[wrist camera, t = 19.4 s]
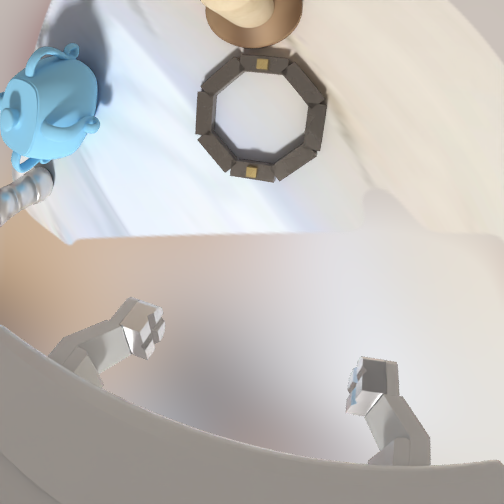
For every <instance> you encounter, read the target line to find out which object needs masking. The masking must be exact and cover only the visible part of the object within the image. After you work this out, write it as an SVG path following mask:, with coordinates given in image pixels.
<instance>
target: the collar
mask: <svg viewBox="0 0 504 504" xmlns="http://www.w3.org/2000/svg"><path fill="white" fill-rule="evenodd" d="M289 62H290V60H289V59H287V58H278V57H267V56H254V55H240V60H239V59H238V58H236V57H233V58H232V59H231V60H230V61H229V62H227V63H226V64H225V65H224V66H223V67H222V68H220V69H219V70H218V71H217V72H216V73H215V74H213V75H212V76H211V77H210V78H209V79H208V80H207V81H206V82H205V83H203V84H202V85H201V88H202V89H203V90H204V91H205V92H204V91H201V92H198V96H197V112H196V132H195V134H199V135H202V136H201V137H200V138H199V139H198V141H199V142H200V144H201V145H202V146H203V147H204V148H205V149H206V151H207V152H208V153H209V154H210V155H211V157H212V158H213V159H214V160H215V161H216V163H217V164H218V165H219V166H220V167H221V169H222V170H223V171H224V172H226V171H228V170H229V169H230V168H231V171H230V176H236V177H242V178H249V179H255V180H261V181H267V182H273V183H274V181H275V177H277V179H278V180H279V181H281V180H282V179H284V178H285V177H287V176H288V175H290V174H291V173H293V172H294V171H296V170H297V169H299V168H300V167H301V166H303V165H304V164H306V163H307V162H309V161H310V160H312V159H313V158H315V157H316V156H317V154H316V153H315V151H314V150H316V151H320V148H321V142H322V136H323V129H324V123H325V116H326V109H327V105H323V104H319V103H320V102H322V101H323V100H325V98H324V97H323V96H322V94H321V93H320V92H319V90H318V89H317V88H316V87H315V85H314V84H313V83H312V82H311V80H310V79H309V78H308V77H307V76H306V74H305V73H304V72H303V71H302V70H301V69H300V67H299V66H298V65H297V64H296V63H295V62H294V63H292V64H291V65H289ZM244 72H257V73H268V74H277V75H283V76H284V77H285V78H286V79H287V80H288V81H289V83H290V84H291V85H292V86H293V87H294V89H295V90H296V91H297V92H298V93H299V95H300V96H301V97H302V98H303V100H304V101H305V102H306V103H307V105H308V114H307V121H306V128H305V135H304V142H303V144H301V145H300V146H298V147H297V148H296V149H294V150H293V151H291V152H290V153H288V154H287V155H285V156H284V157H283V158H281V159H280V160H278V161H277V162H276V163H274V164H272V163H265V162H259V161H252V160H245V159H238V158H237V157H236V156H235V155H234V154H233V153H232V151H231V150H230V149H229V148H228V146H227V145H226V144H225V143H224V142H223V141H222V139H221V138H220V137H219V136H218V135H217V133H216V132H215V131H214V128H215V113H216V99H217V95H218V94H219V93H220V92H221V91H222V90H224V89H225V88H226V87H227V86H228V85H229V84H231V83H232V82H233V81H234V80H235V79H237V78H238V77H239V76H240V75H242V74H243V73H244Z"/></svg>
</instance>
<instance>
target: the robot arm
mask: <svg viewBox="0 0 504 504" xmlns="http://www.w3.org/2000/svg"><path fill="white" fill-rule="evenodd" d="M162 315H163V310H162V308H161V307H158V306H155V305H152V304H150V303H147V302H144V301H142V300H138V299H136V298H133V297H130V298H128V299H127V300H126V301H125V302H124V303H123V305H122V306H121V307H120V308H119V309H118V311H117V312H116V313H115V314H114V315H113V317H112V318H111V319H110V320H109V321H108V320H105V321H102V322H100V323H98V324H95V325H93V326H90V327H88V328H86V329H83V330H81V331H78V332H76V333H73V334H71V335H68V336H66V337H64V338H63V339H62V340H61V341H60V342H59V344H58V345H57V346H56V347H55V348H54V349H53V351H52V352H51V353H50V354H49V355H48V357H47V356H46V355H44V354H43V353H41V352H39V351H38V350H37V349H35V348H34V347H32V346H31V345H29V344H28V343H26V342H25V341H24V340H22V339H21V338H19V337H18V336H17V335H15V334H14V333H13V332H11V331H10V330H8V329H7V328H6V327H4V326H3V325H0V504H504V465H503V464H502V463H501V462H500V461H499V460H488V461H481V462H473V463H463V464H450V465H431V466H430V437H429V435H428V434H427V432H426V431H425V429H424V428H423V426H422V425H421V423H420V422H419V420H418V419H417V417H416V416H415V415H414V413H413V411H412V410H411V408H410V407H409V405H408V404H407V402H406V401H405V399H404V398H403V397H402V396H399V380H398V365H397V362H392V361H387V360H381V359H375V358H368V357H360V358H359V360H358V362H357V367H356V368H354V369H353V371H352V373H351V375H350V378H349V383H348V391H349V393H350V395H349V397H348V398H347V403H346V413H347V414H353V415H359V416H365V419H366V421H367V424H368V426H369V428H370V430H371V432H372V434H373V437H374V439H375V441H376V443H377V445H378V448H379V450H380V452H378V453H377V454H376V455H375V456H374V457H372V458H371V459H370V460H368V464H358V463H349V462H340V461H331V460H324V459H317V458H311V457H305V456H300V455H294V454H289V453H284V452H279V451H275V450H270V449H266V448H262V447H257V446H253V445H250V444H246V443H242V442H238V441H235V440H231V439H228V438H224V437H221V436H218V435H214V434H211V433H208V432H205V431H202V430H199V429H196V428H193V427H190V426H188V425H185V424H182V423H180V422H177V421H174V420H172V419H169V418H167V417H164V416H162V415H159V414H157V413H154V412H152V411H150V410H147V409H145V408H143V407H140V406H138V405H136V404H134V403H131V402H129V401H127V400H125V399H123V398H121V397H119V396H116V395H115V394H113V393H111V392H109V391H107V390H105V389H103V388H102V387H103V385H104V384H103V381H102V380H101V378H100V376H99V374H100V373H101V372H103V371H105V370H106V369H108V368H110V367H111V366H113V365H115V364H117V363H118V362H120V361H122V360H123V359H125V358H127V357H129V356H130V355H131V354H133V355H135V356H138V357H141V358H143V359H146V360H148V359H149V358H150V356H151V354H152V353H153V351H154V350H155V346H154V344H155V343H157V342H160V340H161V339H162V337H163V334H164V331H165V321H164V320H163V319H162V317H161V316H162Z"/></svg>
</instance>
